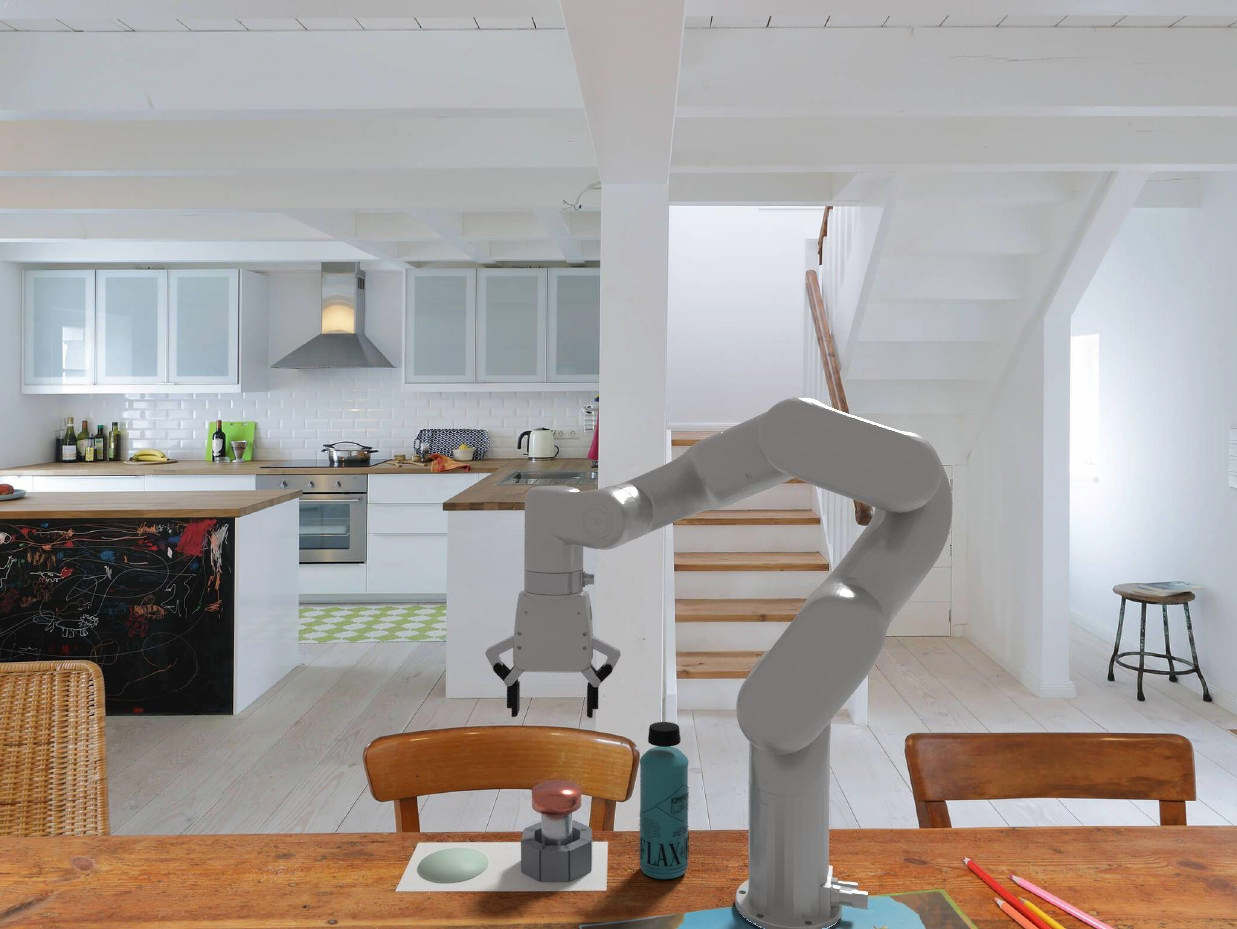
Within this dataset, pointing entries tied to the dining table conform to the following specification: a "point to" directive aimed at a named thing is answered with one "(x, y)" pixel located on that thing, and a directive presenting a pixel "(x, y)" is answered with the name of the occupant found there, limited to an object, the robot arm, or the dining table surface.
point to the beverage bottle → (664, 805)
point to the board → (509, 865)
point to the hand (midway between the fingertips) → (552, 714)
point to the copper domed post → (556, 809)
